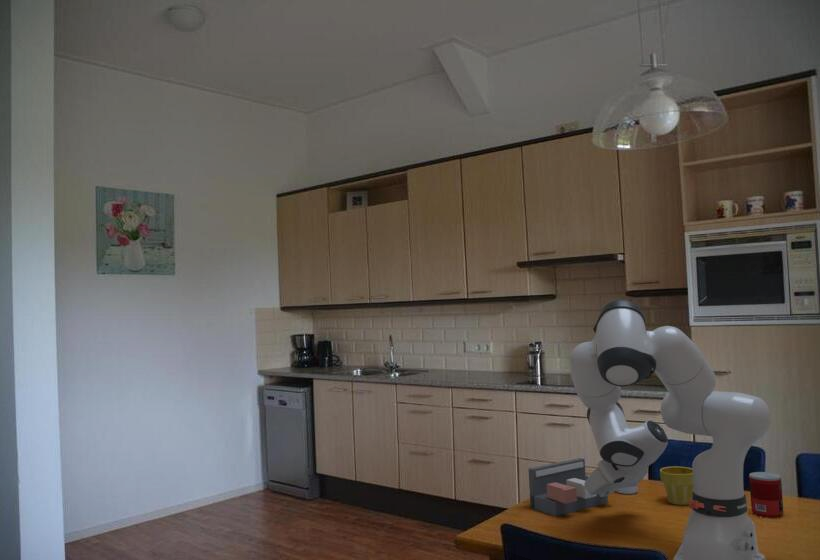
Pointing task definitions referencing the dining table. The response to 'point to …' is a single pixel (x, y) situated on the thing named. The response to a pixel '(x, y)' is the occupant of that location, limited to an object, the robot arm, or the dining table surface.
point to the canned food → (766, 494)
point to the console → (559, 475)
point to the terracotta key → (561, 492)
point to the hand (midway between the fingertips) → (602, 494)
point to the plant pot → (678, 484)
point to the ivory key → (579, 487)
